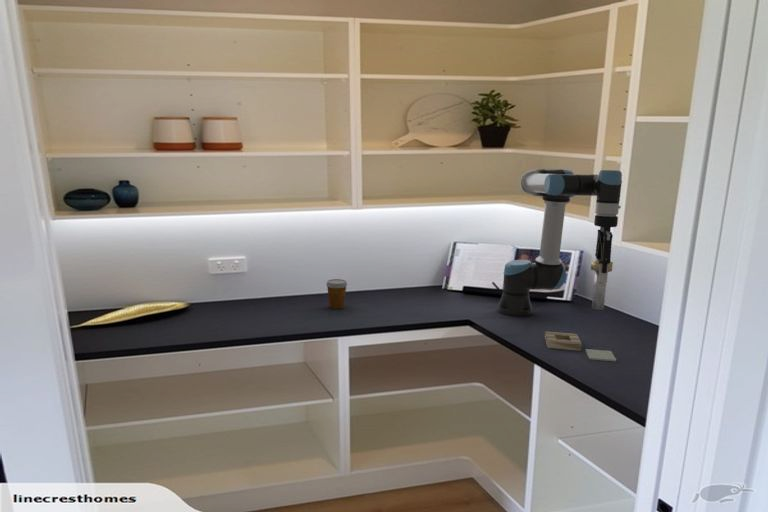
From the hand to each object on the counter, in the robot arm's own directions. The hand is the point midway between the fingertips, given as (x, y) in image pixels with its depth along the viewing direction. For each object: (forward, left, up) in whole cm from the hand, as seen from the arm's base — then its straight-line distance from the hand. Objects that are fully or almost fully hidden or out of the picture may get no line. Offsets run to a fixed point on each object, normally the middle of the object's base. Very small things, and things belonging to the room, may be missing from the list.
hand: (600, 279), depth 199 cm
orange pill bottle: (-35, -106, -28) cm, 115 cm away
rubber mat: (+1, +2, -28) cm, 28 cm away
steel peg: (0, 0, -11) cm, 11 cm away
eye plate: (-9, -10, -28) cm, 31 cm away
